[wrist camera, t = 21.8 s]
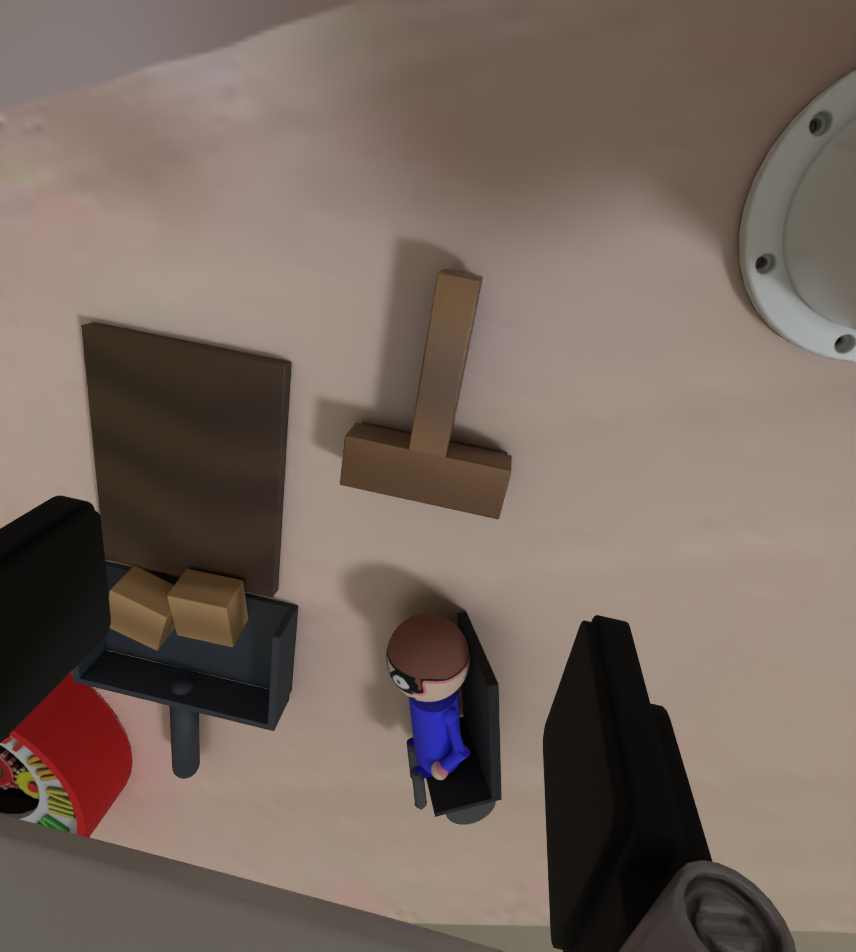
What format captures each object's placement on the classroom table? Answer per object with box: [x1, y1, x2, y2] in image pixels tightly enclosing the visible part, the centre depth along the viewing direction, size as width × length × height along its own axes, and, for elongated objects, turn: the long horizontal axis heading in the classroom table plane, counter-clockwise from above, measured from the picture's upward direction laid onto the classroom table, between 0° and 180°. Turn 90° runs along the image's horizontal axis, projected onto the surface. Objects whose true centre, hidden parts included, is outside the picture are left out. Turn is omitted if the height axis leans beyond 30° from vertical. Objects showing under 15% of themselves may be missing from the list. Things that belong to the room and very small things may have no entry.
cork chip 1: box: [109, 566, 175, 650], centre depth 39 cm, size 4×4×2 cm
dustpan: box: [72, 562, 298, 779], centre depth 42 cm, size 18×15×3 cm
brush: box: [340, 269, 512, 519], centre depth 30 cm, size 12×9×3 cm
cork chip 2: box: [167, 569, 248, 647], centre depth 38 cm, size 4×4×2 cm
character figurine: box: [386, 612, 501, 824], centre depth 37 cm, size 8×7×15 cm
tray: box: [82, 322, 291, 598], centre depth 36 cm, size 16×12×1 cm
